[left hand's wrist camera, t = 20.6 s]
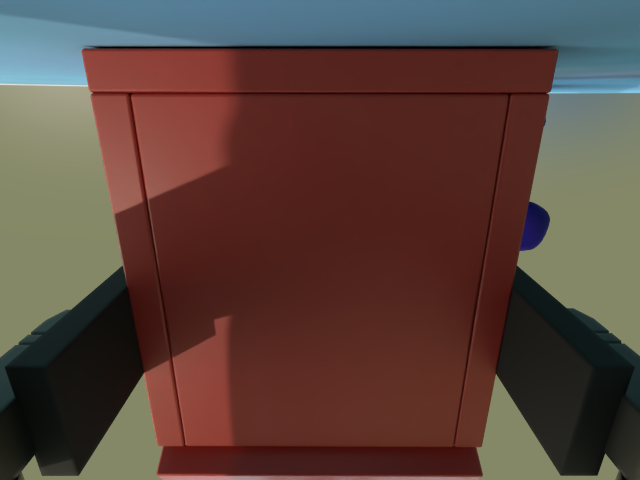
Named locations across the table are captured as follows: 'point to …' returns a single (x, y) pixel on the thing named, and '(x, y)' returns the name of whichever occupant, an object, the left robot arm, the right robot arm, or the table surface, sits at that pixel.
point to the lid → (318, 463)
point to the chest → (319, 235)
